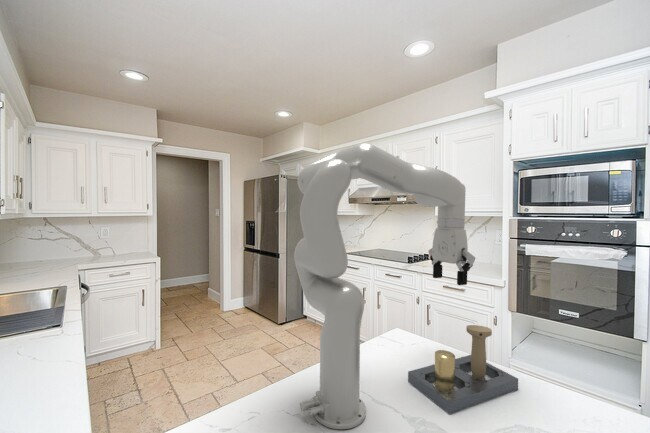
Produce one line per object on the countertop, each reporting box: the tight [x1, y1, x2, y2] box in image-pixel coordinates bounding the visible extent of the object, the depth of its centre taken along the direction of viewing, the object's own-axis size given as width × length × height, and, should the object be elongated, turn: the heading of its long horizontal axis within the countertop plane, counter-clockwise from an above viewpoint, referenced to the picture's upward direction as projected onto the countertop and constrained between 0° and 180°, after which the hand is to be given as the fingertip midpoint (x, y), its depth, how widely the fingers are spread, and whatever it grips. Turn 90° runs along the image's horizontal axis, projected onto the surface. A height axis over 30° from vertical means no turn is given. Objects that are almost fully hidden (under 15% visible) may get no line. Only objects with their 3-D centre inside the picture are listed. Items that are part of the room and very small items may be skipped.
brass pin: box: [434, 349, 456, 392], centre depth 81 cm, size 5×5×10 cm
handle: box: [466, 324, 493, 380], centre depth 86 cm, size 5×6×15 cm
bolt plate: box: [407, 354, 519, 415], centre depth 84 cm, size 25×15×3 cm, turn 114°
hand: (449, 281), depth 91 cm, fingers open, 9 cm apart
